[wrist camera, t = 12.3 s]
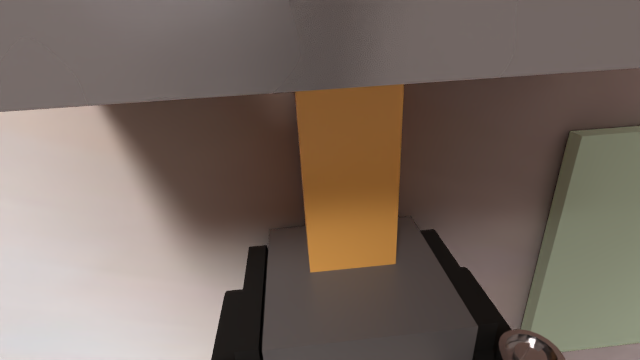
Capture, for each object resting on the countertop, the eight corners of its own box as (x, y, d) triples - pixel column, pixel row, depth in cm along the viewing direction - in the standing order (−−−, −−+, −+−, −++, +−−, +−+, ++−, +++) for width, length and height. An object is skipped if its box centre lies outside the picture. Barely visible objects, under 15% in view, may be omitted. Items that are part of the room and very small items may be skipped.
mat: (569, 131, 11) (581, 136, 10) (784, 114, 11) (805, 118, 11) (516, 345, 15) (523, 356, 14) (679, 327, 15) (691, 336, 15)
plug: (206, -257, 7) (81, -685, 3) (441, -260, 7) (674, -656, 3) (280, 314, 13) (279, 463, 9) (405, 301, 13) (462, 439, 9)
